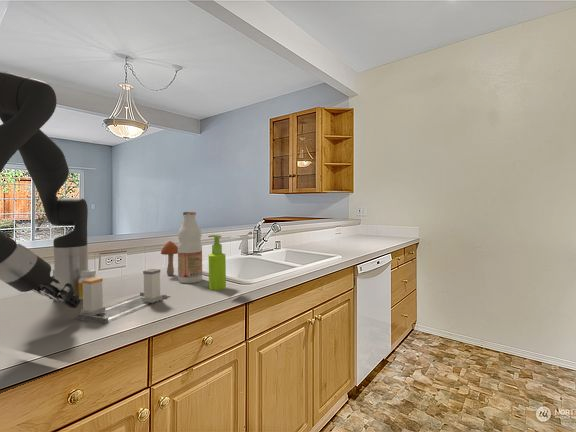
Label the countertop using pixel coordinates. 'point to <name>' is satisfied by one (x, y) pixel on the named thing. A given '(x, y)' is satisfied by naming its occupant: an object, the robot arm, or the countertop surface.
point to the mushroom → (170, 255)
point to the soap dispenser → (217, 266)
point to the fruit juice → (189, 250)
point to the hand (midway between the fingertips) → (76, 304)
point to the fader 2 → (151, 285)
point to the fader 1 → (92, 296)
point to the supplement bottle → (85, 275)
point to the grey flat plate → (119, 309)
